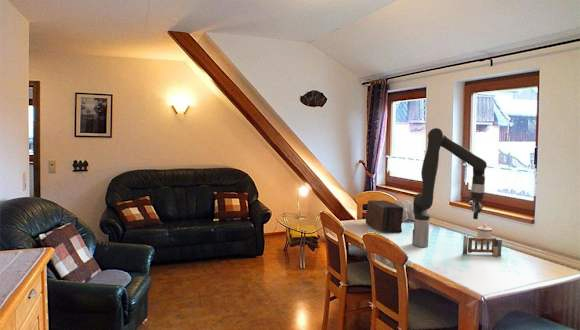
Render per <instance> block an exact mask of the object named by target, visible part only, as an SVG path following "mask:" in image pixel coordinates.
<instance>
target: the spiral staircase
mask: <svg viewBox="0 0 580 330" xmlns="http://www.w3.org/2000/svg"><path fill="white" fill-rule="evenodd" d="M413 202H414V199H411V201H410V200H408V199H405V200H400V199H398V200H397V201H395V203H394V204H396V205H398V206H401V207H403V216H402V222H405V221H407V218H408V220H409V221H411V222H413V221H414V213H413Z"/></svg>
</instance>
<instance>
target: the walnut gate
mask: <svg viewBox="0 0 580 330" xmlns="http://www.w3.org/2000/svg"><path fill="white" fill-rule="evenodd" d="M496 239H497V238H496V237H491V238H477V237H472V236H471V237H469V236H468V246H467V254H471V253H487V254H488V253H489V254H490V253H491V254H492V251H493V246H496ZM478 241H481V242H480V248H478V243H479V242H478ZM483 241H487V243H486V247H485V248H484V243H483ZM489 241H491V248H490V243H489ZM473 242H474V248H472V247H473Z"/></svg>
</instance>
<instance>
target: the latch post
mask: <svg viewBox="0 0 580 330" xmlns="http://www.w3.org/2000/svg"><path fill="white" fill-rule="evenodd" d="M502 244H503V239H501V238H496V246H493V251H492V253H491V254H492V255H491V256H492V257H496V258H497V257H499V256H502V246H503V245H502Z"/></svg>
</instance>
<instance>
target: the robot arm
mask: <svg viewBox="0 0 580 330" xmlns="http://www.w3.org/2000/svg"><path fill="white" fill-rule="evenodd" d="M427 138H428V139H427V148H426V153H425V155H424V158H423V161H422V166H421V167H422V168H421V179H422V180H421V181H422V191H421V193H417V194H416V195H415V196H414V197H413V201H414V202H413V213H414V220H413V229H412V239H411V241H412V242H411V244H412V245H413V246H414V247H419V248H428V247H429V237H430V235H429V234H430V218H431V217H430V214H429V213H428V210H430V208H431V207H432V206H433V204H434V202H433V201H434V193H435V192H434V190H435V183H436V178H437V173H438V170H439V169H438V167H439V160H440V151H441V148H444V149H445V150H447V151H448V152H450V153H451V154H452V155H454V156H455V157H457V158H458V159H460V160H461V161H463V162H465V163H467V164H468V165H469V166H470V167H472V179H471V187H470V199H472V202H470V206H471V207H470V209H471V211H472V213H473V215H472V216H473V217H472V218H473V219H474V220H478V219H479V218H478V217H479V214H480V213H481V211H482V210H483V205H482V200H483V201H484V199H485V185H486V184H485V183H486V176H485V174H486V173H485V170H486V169H487V166H488V165H487V162H486V160H484V159H483V158H482V157H479V156H478V155H476V154H474V152H472V151H470V150H469V149H467V148H466V147H464V146H462V145H460V144H458V143H456V142H454V141H453V140H452V139H449V138H448V137H447V136H446V135H445V134H444V132H443V130H442V129H440V128H438V127H435V128H432V129H430V130H429V132H428V134H427Z"/></svg>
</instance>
